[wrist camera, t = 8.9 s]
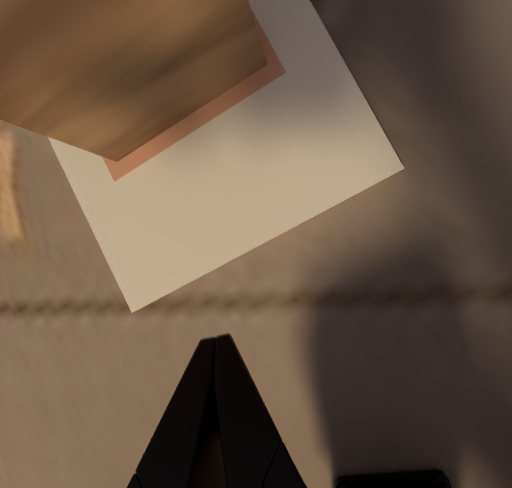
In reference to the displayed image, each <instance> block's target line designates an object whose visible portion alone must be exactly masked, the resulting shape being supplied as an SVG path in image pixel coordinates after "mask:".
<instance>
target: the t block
mask: <svg viewBox="0 0 512 488" xmlns="http://www.w3.org/2000/svg"><path fill="white" fill-rule="evenodd" d="M266 65H267V61H266V58H265V54H264V51H263V47H262V44H261V41H260V37H259V34H258V30H257V27H256V24H255V20H254V17H253V14H252V10H251V7H250V3H249V0H0V120H3V121H6V122H9V123H11V124H14V125H17V126H20V127H22V128H25V129H28V130H31V131H33V132H36V133H39V134H42V135H44V136H47V137H50V138H52V139H55V140H58V141H61V142H63V143H66V144H69V145H72V146H74V147H77V148H80V149H83V150H85V151H88V152H91V153H94V154H96V155H99V156H102V157H105V158H107V159H110V160H113V161H115V162H118V161H120V160H121V159H123V158H124V157H126V156H127V155H129V154H130V153H132V152H133V151H135V150H136V149H138V148H140V147H141V146H143V145H144V144H146V143H147V142H149V141H150V140H152V139H153V138H155V137H157V136H158V135H160V134H161V133H163V132H164V131H166V130H167V129H169V128H170V127H172V126H173V125H175V124H177V123H178V122H180V121H181V120H183V119H184V118H186V117H187V116H189V115H190V114H192V113H193V112H195V111H197V110H198V109H200V108H201V107H203V106H204V105H206V104H207V103H209V102H210V101H212V100H213V99H215V98H217V97H218V96H220V95H221V94H223V93H224V92H226V91H227V90H229V89H230V88H232V87H234V86H235V85H237V84H238V83H240V82H241V81H243V80H244V79H246V78H247V77H249V76H250V75H252V74H254V73H255V72H257V71H258V70H260V69H261V68H263V67H264V66H266Z"/></svg>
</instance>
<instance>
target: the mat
mask: <svg viewBox="0 0 512 488" xmlns="http://www.w3.org/2000/svg"><path fill="white" fill-rule="evenodd" d="M249 3H250V7H251V10H252V14H253V17H254V20H255V24H256V27H257V30H258V34H259V37H260V41H261V44H262V47H263V51H264V54H265V58H266V61H267V65H266V66H264V67H263V68H261V69H260V70H258V71H257V72H255V73H254V74H252V75H250V76H249V77H247V78H246V79H244V80H243V81H241V82H240V83H238V84H237V85H235V86H234V87H232V88H230V89H229V90H227V91H226V92H224V93H223V94H221V95H220V96H218V97H217V98H215V99H213V100H212V101H210V102H209V103H207V104H206V105H204V106H203V107H201V108H200V109H198V110H197V111H195V112H193V113H192V114H190V115H189V116H187V117H186V118H184V119H183V120H181V121H180V122H178V123H177V124H175V125H173V126H172V127H170V128H169V129H167V130H166V131H164V132H163V133H161V134H160V135H158V136H157V137H155V138H153V139H152V140H150V141H149V142H147V143H146V144H144V145H143V146H141V147H140V148H138V149H136V150H135V151H133V152H132V153H130V154H129V155H127V156H126V157H124V158H123V159H121V160H120V161H118V162H115V161H113V160H110V159H107V158H105V157H102V156H99V155H96V154H94V153H91V152H88V151H85V150H83V149H80V148H77V147H74V146H72V145H69V144H66V143H63V142H61V141H58V140H55V139H52V138H50V137H48V139H49V141H50V143H51V145H52V147H53V149H54V151H55V153H56V155H57V157H58V160H59V162H60V164H61V166H62V168H63V170H64V172H65V174H66V176H67V178H68V180H69V183H70V185H71V187H72V189H73V191H74V193H75V195H76V197H77V199H78V201H79V203H80V206H81V208H82V210H83V212H84V214H85V216H86V218H87V220H88V222H89V224H90V226H91V229H92V231H93V233H94V235H95V237H96V239H97V241H98V243H99V245H100V247H101V249H102V252H103V254H104V256H105V258H106V260H107V262H108V264H109V266H110V268H111V270H112V272H113V275H114V277H115V279H116V281H117V283H118V285H119V287H120V289H121V291H122V293H123V295H124V298H125V300H126V302H127V304H128V306H129V308H130V310H131V312H132V313H133V312H135V311H137V310H139V309H141V308H142V307H144V306H146V305H148V304H150V303H152V302H154V301H156V300H158V299H159V298H161V297H163V296H165V295H167V294H169V293H171V292H173V291H175V290H176V289H178V288H180V287H182V286H184V285H186V284H188V283H190V282H192V281H193V280H195V279H197V278H199V277H201V276H203V275H205V274H207V273H208V272H210V271H212V270H214V269H216V268H218V267H220V266H222V265H224V264H225V263H227V262H229V261H231V260H233V259H235V258H237V257H239V256H241V255H242V254H244V253H246V252H248V251H250V250H252V249H254V248H256V247H258V246H259V245H261V244H263V243H265V242H267V241H269V240H271V239H273V238H274V237H276V236H278V235H280V234H282V233H284V232H286V231H288V230H290V229H291V228H293V227H295V226H297V225H299V224H301V223H303V222H305V221H307V220H308V219H310V218H312V217H314V216H316V215H318V214H320V213H322V212H324V211H325V210H327V209H329V208H331V207H333V206H335V205H337V204H339V203H341V202H342V201H344V200H346V199H348V198H350V197H352V196H354V195H356V194H357V193H359V192H361V191H363V190H365V189H367V188H369V187H371V186H373V185H374V184H376V183H378V182H380V181H382V180H384V179H386V178H388V177H390V176H391V175H393V174H395V173H397V172H399V171H401V170H403V169H404V167H403V165H402V163H401V161H400V160H399V158H398V156H397V154H396V153H395V151H394V149H393V147H392V145H391V144H390V142H389V140H388V138H387V137H386V135H385V133H384V131H383V129H382V128H381V126H380V124H379V122H378V121H377V119H376V117H375V115H374V113H373V112H372V110H371V108H370V106H369V105H368V103H367V101H366V99H365V97H364V96H363V94H362V92H361V90H360V89H359V87H358V85H357V83H356V82H355V80H354V78H353V76H352V74H351V73H350V71H349V69H348V67H347V66H346V64H345V62H344V60H343V58H342V57H341V55H340V53H339V51H338V50H337V48H336V46H335V44H334V42H333V41H332V39H331V37H330V35H329V34H328V32H327V30H326V28H325V26H324V25H323V23H322V21H321V19H320V18H319V16H318V14H317V12H316V10H315V9H314V7H313V5H312V3H311V2H310V0H249Z"/></svg>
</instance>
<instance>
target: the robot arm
mask: <svg viewBox="0 0 512 488" xmlns="http://www.w3.org/2000/svg"><path fill="white" fill-rule="evenodd" d="M438 479H442V482H436V481H437V480H438ZM342 485H345V486H347V488H451V485H450V482H449V479H448V478H447V476H446V474H445V473H444V472H443V471H441V470H426V471H411V472H397V473H382V474H368V475H353V476H341V477H338V478H337V479H336V481H335V486H336V488H342V487H341V486H342ZM127 488H307V486H306V485H305V483H304V481H303V479H302V478H301V476H300V474H299V472H298V470H297V468H296V466H295V464H294V462H293V461H292V459H291V457H290V455H289V453H288V450H287V448H286V446H285V444H284V443H283V442H282V439H281V437H280V435H279V432H278V430H277V428H276V426H275V424H274V422H273V420H272V418H271V416H270V414H269V412H268V410H267V408H266V406H265V404H264V402H263V400H262V398H261V396H260V394H259V392H258V390H257V388H256V385H255V383H254V381H253V379H252V377H251V375H250V373H249V371H248V369H247V367H246V365H245V363H244V361H243V359H242V357H241V355H240V353H239V351H238V349H237V347H236V345H235V343H234V340H233V338H232V336H231V335H230V334H229V333H227V334H222V335H218V336H216V338H215V337H208V338H203V339H201V340H200V342H199V344H198V346H197V348H196V350H195V352H194V354H193V356H192V358H191V360H190V362H189V364H188V366H187V368H186V370H185V372H184V374H183V376H182V378H181V380H180V382H179V384H178V386H177V388H176V390H175V392H174V394H173V396H172V398H171V400H170V402H169V404H168V406H167V408H166V410H165V412H164V414H163V416H162V418H161V420H160V422H159V424H158V426H157V428H156V430H155V432H154V434H153V436H152V438H151V440H150V442H149V444H148V446H147V448H146V450H145V452H144V454H143V456H142V458H141V460H140V462H139V465H138V467H137V469H136V474H134V475H133V476H132V478H131V480H130V482H129V484H128V486H127Z"/></svg>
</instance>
